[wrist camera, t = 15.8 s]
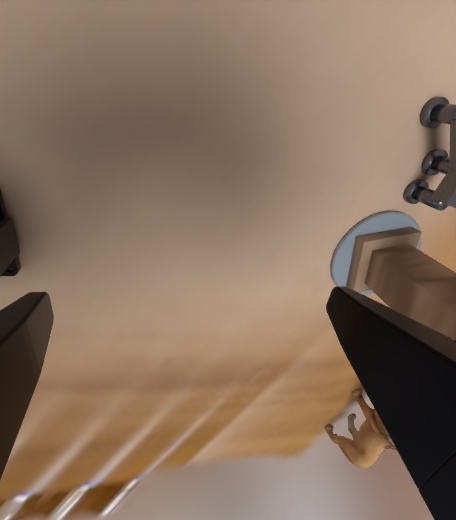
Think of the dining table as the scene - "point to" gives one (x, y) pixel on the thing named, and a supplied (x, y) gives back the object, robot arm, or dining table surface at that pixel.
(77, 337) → the dining table surface
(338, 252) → the mat
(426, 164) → the dark grey legged piece
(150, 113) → the dining table surface
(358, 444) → the lion figurine
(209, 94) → the dining table surface
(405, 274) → the square column on plinth
